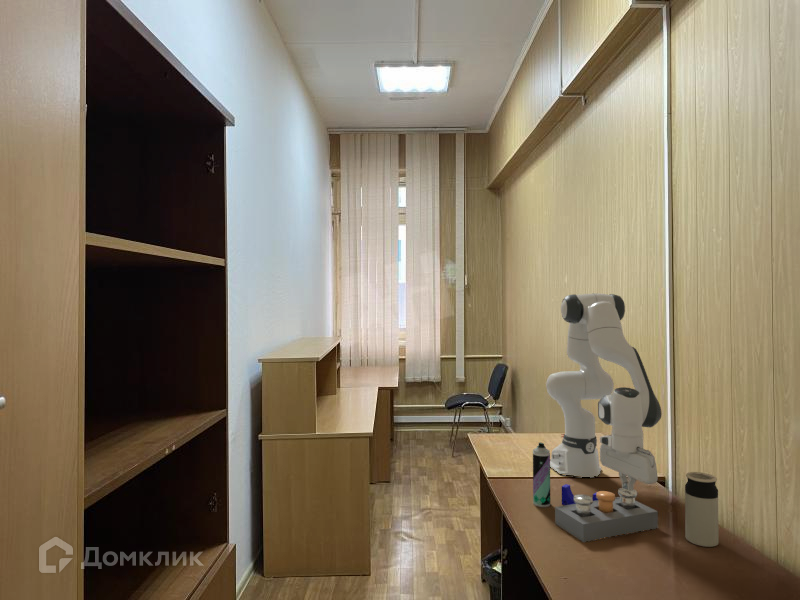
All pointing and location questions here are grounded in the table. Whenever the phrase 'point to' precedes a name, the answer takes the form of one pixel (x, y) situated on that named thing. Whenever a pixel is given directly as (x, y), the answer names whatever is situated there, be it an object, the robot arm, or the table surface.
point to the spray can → (541, 476)
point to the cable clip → (570, 495)
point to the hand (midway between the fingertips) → (627, 489)
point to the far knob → (627, 498)
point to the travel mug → (701, 509)
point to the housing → (606, 520)
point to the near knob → (583, 505)
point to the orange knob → (605, 501)
